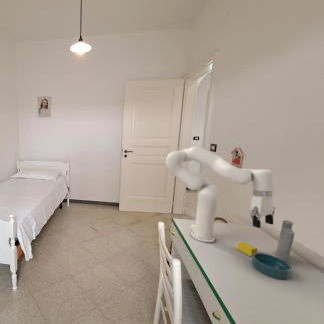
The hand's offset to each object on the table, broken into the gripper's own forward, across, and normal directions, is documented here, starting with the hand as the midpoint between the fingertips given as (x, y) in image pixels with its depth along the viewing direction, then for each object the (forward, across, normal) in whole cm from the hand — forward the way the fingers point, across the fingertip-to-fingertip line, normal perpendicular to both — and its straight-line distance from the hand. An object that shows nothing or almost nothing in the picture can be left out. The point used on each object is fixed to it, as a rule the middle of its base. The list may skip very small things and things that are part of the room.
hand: (263, 225), depth 106 cm
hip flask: (+18, -9, +3) cm, 20 cm away
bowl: (+18, +9, +8) cm, 21 cm away
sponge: (+16, +4, -6) cm, 18 cm away
